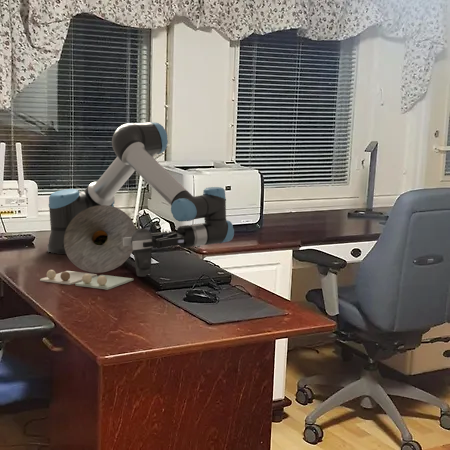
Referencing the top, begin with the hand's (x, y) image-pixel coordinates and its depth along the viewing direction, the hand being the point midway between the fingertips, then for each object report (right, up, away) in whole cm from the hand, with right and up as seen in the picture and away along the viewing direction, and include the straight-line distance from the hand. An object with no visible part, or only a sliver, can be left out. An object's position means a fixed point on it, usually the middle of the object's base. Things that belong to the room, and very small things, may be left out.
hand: (128, 243), depth 241 cm
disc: (-11, -9, +19) cm, 23 cm away
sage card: (-7, -12, -5) cm, 15 cm away
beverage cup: (+5, -11, +4) cm, 12 cm away
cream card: (-20, -11, +2) cm, 23 cm away
